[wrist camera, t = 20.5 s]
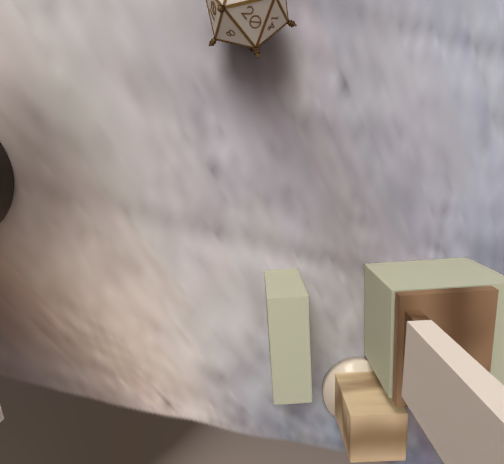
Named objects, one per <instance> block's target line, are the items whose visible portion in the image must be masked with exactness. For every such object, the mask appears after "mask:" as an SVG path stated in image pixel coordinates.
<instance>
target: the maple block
mask: <svg viewBox="0 0 504 464" xmlns="http://www.w3.org/2000/svg"><path fill="white" fill-rule="evenodd" d="M335 416H336V419H337V422H338V426H339V429H340V432H341V435H342V438H343V441H344V445H345V448H346V451H347V454H348V457H349V461H350V463H354V462H378V461H400V460H406V443H407V425H408V412H407V411H406V409H405V407H396V406H395V404H394V402H393V400H392V398H389V397H388V395H387V393H386V392H385V390H384V388H383V386H382V385H381V383H380V381H379V379H378V377H377V376H376V374H375V372H374V371H371V372H351V373H335Z"/></svg>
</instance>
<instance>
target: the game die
mask: <svg viewBox="0 0 504 464" xmlns="http://www.w3.org/2000/svg"><path fill="white" fill-rule="evenodd" d="M206 3H207V7H208V12H209V16H210V20H211V25H212V29H213V34H214V38H213V39H211V41H210V43H209V46H214V44H216V41H217V40H218V41H222V42H227V43H231V44H235V45H240V46H244V47H248V48H251V51H253V52H254V55H255V56H257V58H258V56H259V54H260V52H259V49H258V47H259V46H261V45H262V44H263V43H264V42H265V41H267V40H268V39H269V38H270V37H272V36H273V35H274V34H275V33H276V32H278V31H279V30H280V29H281V28H282V27H284V26H285V25H286V24H288V25H289V26H291V27H294V26H297V25H296V24H295V22H294V21H292V20H289V19H288V11H287V2H286V0H206Z"/></svg>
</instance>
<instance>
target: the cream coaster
mask: <svg viewBox="0 0 504 464" xmlns="http://www.w3.org/2000/svg"><path fill="white" fill-rule="evenodd" d="M371 371H374V370H373V368H372V367H371V365H370V363H369V361H368V360H367V358H364V357H353V358H348V359H345V360H342V361H340V362H338V363H337V364H335V365H334V366H333V367H332V368H331V369H330V370H329V371H328V372H327V374H326V375H325V377H324V380H323V383H322V395H323V398H324V402H325V405H326V407H327V409H328V410H329V412H330V413H331V414H332V415H333V416H334V417H336V416H335V373H351V372H371Z"/></svg>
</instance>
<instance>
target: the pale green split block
mask: <svg viewBox="0 0 504 464" xmlns="http://www.w3.org/2000/svg"><path fill="white" fill-rule="evenodd" d="M264 274H265V288H266V303H267V318H268V333H269V348H270V362H271V375H272V387H273V399H274V405H278V404H296V403H312V384H311V356H310V328H309V300H308V294H307V291H306V289H305V286H304V284H303V281H302V279H301V276H300V273H299V271H298V268H297V269H282V270H267V271H264ZM477 286H493V287H495V288H496V289H498V290H499V293H498V302H497V312H496V321H495V331H494V341H493V350H492V360H491V370H490V374H491V375H493V376H494V377H495V378H496V379H497V380H498V381H499V382H500V383H501V384H502V385H504V275H502V274H500V273H498V272H496V271H493V270H491V269H489V268H487V267H485V266H483V265H481V264H479V263H477V262H475V261H473V260H470V259H468V258H466V257H462V258H447V259H432V260H417V261H402V262H387V263H372V264H364V354H365V356H366V358H367V360H368V361H369V363H370V365H371V367H372V368H373V370H374V372H375V374H376V376H377V377H378V379H379V381H380V383H381V385H382V386H383V388H384V390H385V392H386V393H387V395H388V397H389V398H392V391H393V356H394V320H395V292H400V291H416V290H431V289H447V288H462V287H477Z"/></svg>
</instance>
